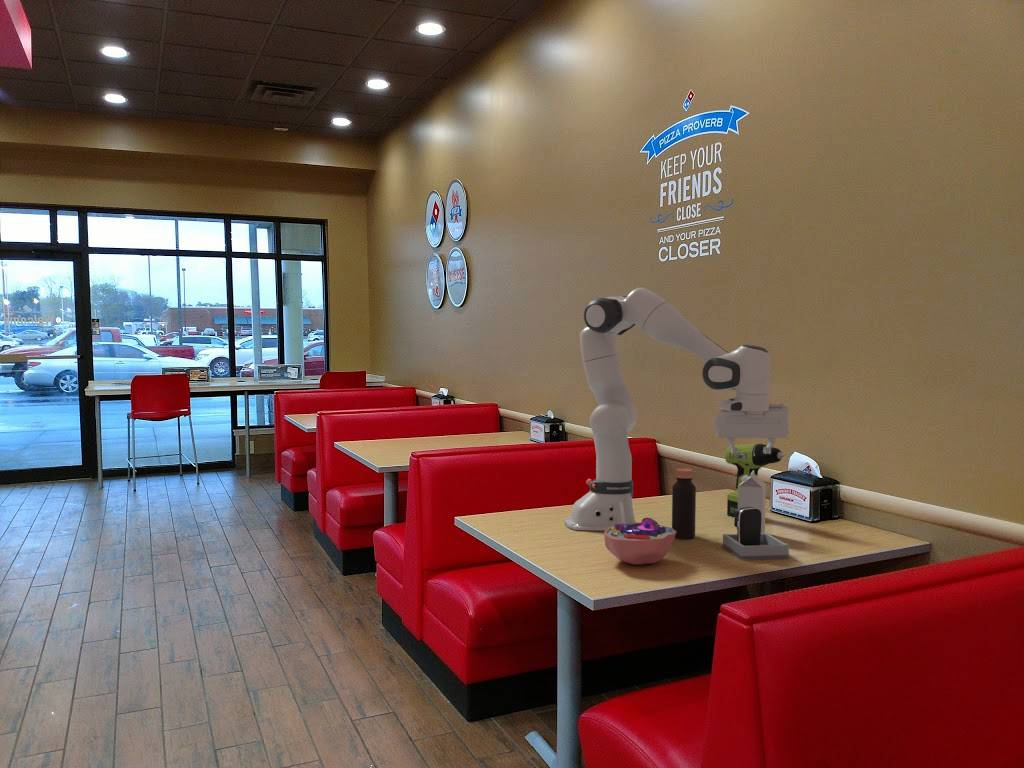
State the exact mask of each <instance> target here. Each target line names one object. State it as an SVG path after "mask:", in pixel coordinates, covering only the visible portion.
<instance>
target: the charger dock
mask: <svg viewBox="0 0 1024 768" xmlns="http://www.w3.org/2000/svg"><path fill="white" fill-rule="evenodd" d="M789 546H790V545H789V543H785V542H783V541H781V540H780V539H778V538H776V537H774V536H773V535H771V534H769V533H768V532H765V533H761V537H760V545H756V546H744V545H742V544H740V543H739V542H737V533H726V534H722V548H724V549H725V550H727V551H728V552H730V553H731V554H733V555H734V556H736V557H737V558H739V559H740V560H741V561H747V560H748V561H749V560H750V561H751V560H752V561H754V560H755V561H756V560H781V559H789V550H790V549H789Z"/></svg>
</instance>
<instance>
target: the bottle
mask: <svg viewBox="0 0 1024 768" xmlns="http://www.w3.org/2000/svg"><path fill="white" fill-rule="evenodd" d="M693 472H694V470H693V469H690V468H676V469H675V479H676V481H675V483H674V484H673V485H672V487H671V488H672V492H671V493H672V494H671V495H672V497H671V498H672V500H671V528H672V529H674V530H676V535H675V538H674V539H679V540H692V539H694V538H695V537H696V511H697V510H696V506H697V503H696V501H697V500H696V499H697V497H696V496H697V495H696V493H697V488H696V485H695V484H694V483H693V482H692V480H693V477H694V473H693Z"/></svg>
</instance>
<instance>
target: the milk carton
mask: <svg viewBox="0 0 1024 768" xmlns="http://www.w3.org/2000/svg"><path fill="white" fill-rule="evenodd" d="M741 480H742V481H743V482H742V483H741V484H740V485H739V486H738V509H739V508H744V507H753V508H757V509H759V510H760V511H761V533H766V499H767V498H766V495H767V493H766V492H767V489H766V488H767V483H765V482H764V481H763V480H762V479H761V478H760V477H759V476H758V475H757V476H756V475H755V474H754V470H753V471H752V473H751V476H750V477H748V476H747V475H745V476H743V477H742V478H741Z"/></svg>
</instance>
